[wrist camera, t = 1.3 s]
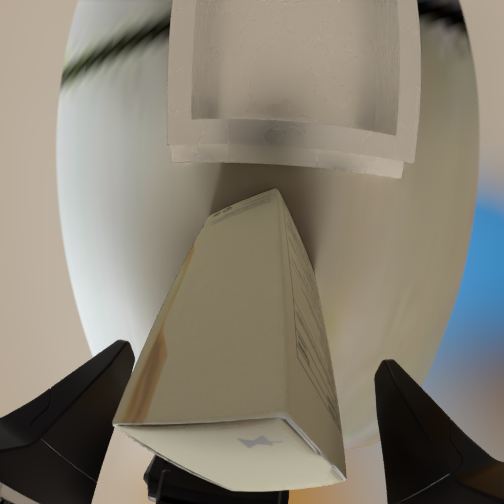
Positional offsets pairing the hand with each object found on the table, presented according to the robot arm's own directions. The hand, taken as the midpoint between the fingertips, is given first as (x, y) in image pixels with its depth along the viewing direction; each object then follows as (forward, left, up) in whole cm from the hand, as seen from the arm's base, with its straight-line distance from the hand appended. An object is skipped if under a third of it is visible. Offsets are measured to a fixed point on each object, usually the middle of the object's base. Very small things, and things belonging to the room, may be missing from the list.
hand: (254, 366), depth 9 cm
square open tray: (+12, -1, -8) cm, 15 cm away
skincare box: (0, 0, -9) cm, 9 cm away
